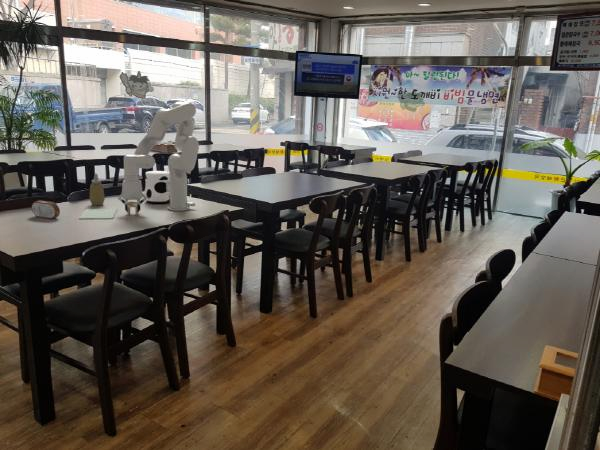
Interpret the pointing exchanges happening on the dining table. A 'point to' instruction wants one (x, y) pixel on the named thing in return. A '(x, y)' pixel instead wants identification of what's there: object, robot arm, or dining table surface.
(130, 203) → the stool
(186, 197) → the robot arm
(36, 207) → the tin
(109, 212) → the mat
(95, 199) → the squeeze bottle
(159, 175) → the milk container
